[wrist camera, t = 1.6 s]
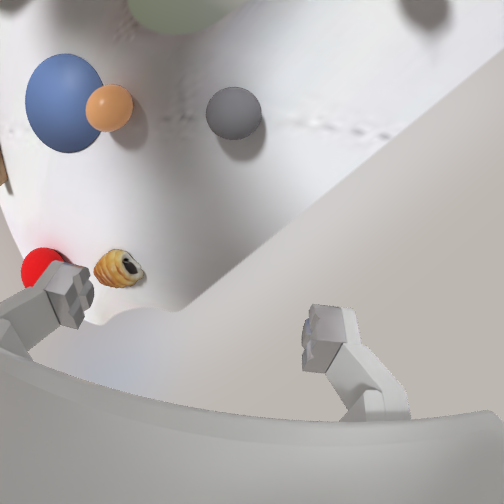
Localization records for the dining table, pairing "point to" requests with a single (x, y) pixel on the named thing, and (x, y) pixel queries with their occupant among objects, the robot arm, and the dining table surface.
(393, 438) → the robot arm
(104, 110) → the object ball
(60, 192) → the dining table surface
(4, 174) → the wall
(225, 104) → the grey matte sphere
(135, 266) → the pastry
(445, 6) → the dining table surface
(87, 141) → the blue flat disc
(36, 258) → the ornament
